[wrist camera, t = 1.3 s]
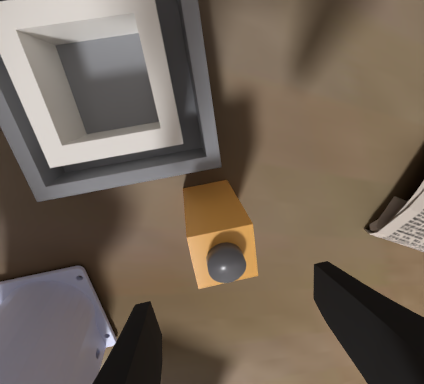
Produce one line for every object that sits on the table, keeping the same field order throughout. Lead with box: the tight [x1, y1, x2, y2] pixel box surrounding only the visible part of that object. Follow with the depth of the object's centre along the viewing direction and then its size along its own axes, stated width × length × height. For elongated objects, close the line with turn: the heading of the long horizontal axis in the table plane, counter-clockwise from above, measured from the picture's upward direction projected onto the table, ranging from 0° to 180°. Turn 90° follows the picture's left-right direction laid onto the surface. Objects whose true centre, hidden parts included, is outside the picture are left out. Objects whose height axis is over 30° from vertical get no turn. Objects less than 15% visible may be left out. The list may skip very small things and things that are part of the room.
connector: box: [183, 180, 258, 289], centre depth 16 cm, size 4×4×8 cm
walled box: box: [0, 0, 222, 202], centre depth 13 cm, size 11×11×4 cm
